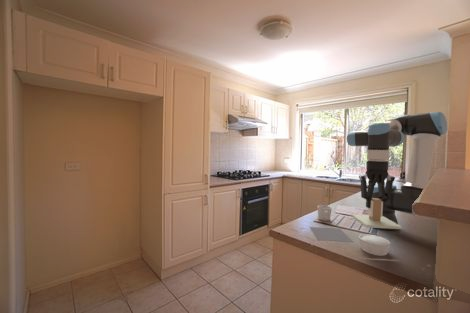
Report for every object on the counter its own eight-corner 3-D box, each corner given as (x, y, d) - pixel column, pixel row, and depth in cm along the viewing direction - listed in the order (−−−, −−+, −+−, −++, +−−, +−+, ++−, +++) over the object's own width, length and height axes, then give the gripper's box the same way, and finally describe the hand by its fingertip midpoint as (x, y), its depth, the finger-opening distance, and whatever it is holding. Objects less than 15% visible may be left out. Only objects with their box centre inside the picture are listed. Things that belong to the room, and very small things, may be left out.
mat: (339, 229, 113) (340, 228, 113) (353, 243, 97) (353, 242, 97) (309, 227, 115) (309, 227, 115) (317, 241, 99) (317, 240, 99)
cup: (333, 224, 120) (334, 210, 120) (319, 223, 122) (319, 209, 122) (329, 218, 131) (329, 205, 131) (315, 217, 133) (316, 204, 132)
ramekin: (356, 243, 97) (357, 232, 97) (385, 247, 93) (386, 236, 93) (360, 254, 87) (361, 242, 87) (393, 260, 83) (393, 247, 83)
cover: (381, 217, 95) (382, 195, 94) (401, 229, 82) (403, 203, 81) (351, 216, 96) (352, 194, 96) (366, 227, 83) (367, 202, 83)
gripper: (392, 160, 91) (389, 213, 92) (353, 159, 92) (350, 212, 93) (404, 161, 83) (401, 219, 84) (361, 160, 85) (359, 217, 86)
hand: (374, 215), depth 89 cm, fingers closed on cover, 3 cm apart
